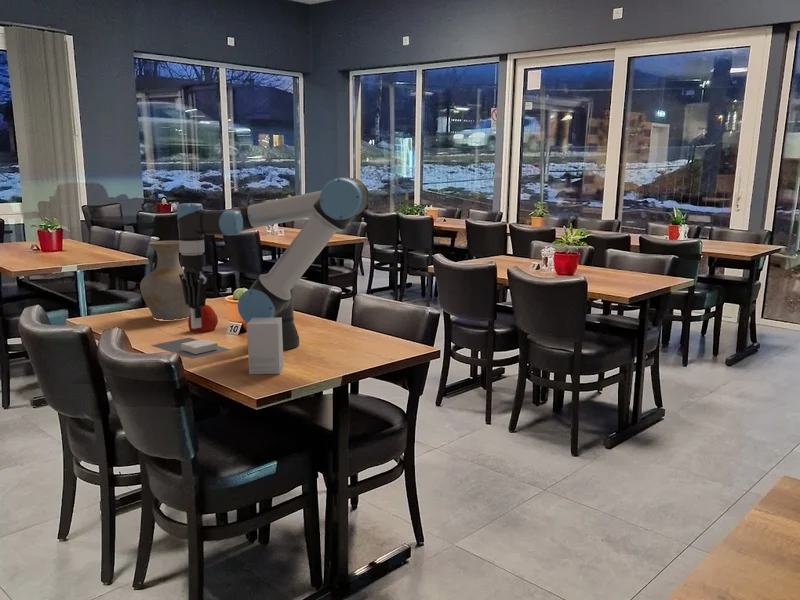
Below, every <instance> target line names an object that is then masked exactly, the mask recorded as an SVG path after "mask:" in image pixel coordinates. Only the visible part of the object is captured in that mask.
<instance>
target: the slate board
mask: <svg viewBox="0 0 800 600" xmlns="http://www.w3.org/2000/svg"><path fill="white" fill-rule="evenodd" d="M196 340H197V339H196V338H192V337H185V338H181V339H175V340H171V341H170V340H169V341H166V342H161V343H156V344H151V346H152V347H155V348H157V349H158V348H159V349H161V350H164V351H167V352H169V353H173V352H176V353H178V354H177V355H179V356H182V357H185V358H189V359H191V360H193V359H199V358H203V357H207V356H209V355H210V356H211V355H215V354H219V353H224V352H227V351H231V350H232V349H230V348H227V347H224V346H219V345H218V349H216V350H212V351H207V352H203V353H199V354H193V353H190V352H187V351H184V350H181V344H182V343H186V342H191V341H196ZM176 353H175V354H176Z"/></svg>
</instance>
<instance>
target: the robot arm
mask: <svg viewBox="0 0 800 600" xmlns="http://www.w3.org/2000/svg"><path fill="white" fill-rule="evenodd" d="M368 189H369V188H367V186H366V185H365V183H363V181H361V180H359V179H357V178H355V177H344V176H343V177H336V178H333V179H331V180H330V181H328V182H327V183H326V184H325V185H324V187H322V190H318V191H313V192H308V193H304V194H298V195H294V196H288V197H283V198H278V199H274V200H270V201H265V202H264V201H263V202H259V203H255V204H250V205H245V206H240V207H236V208H234V207H233V208H230V209H229V208H228V209H218V210H217V209H216V210H215V209H213V210H207V209H204V206H203V204H202V203H193V202H191V203H188V202H187V203H180V204H178V206H177V218H176V219H177V228H178V241H179V253H180V255H179V263H180V266H181V268H183V269H184V273H183V274H180V275H179V277H180V280H181V283H182V288H183V293H184V299H185V304H186V305H187V304H188V305H189V307H190V313H191V314H190V315H191V328H193V329H195V328H201V327H202V326H201V307H203V306H205V305H206V300H207V290H208V289H207V288H208V283H209V280H210V279H209V277H208V276H207V277H206V276H205V275H204V269H203V267H204V266H206V254H204V253H205V249H206V248H205V235H207V236H209V235H210V236H214V235H215V236H228V237H229V236H238V235H240V234H241V232H244V231H248V230H254V229H258V228H262V227H268V226H272V225H278V224H283V223H288V222H293V221H297V220H303V219H308V218H309V219H308V220H307V222H306V223H305V224H304V225H303V227H302V228H301V229H300V231H299V232H298V233H297V235H296V236H295V237H294V238H293V240H292V241H291V243H289V245H288V246H287V248H286V249H285V250H284V252H283V253H282V254H281V256H280V257H279V258H278V259H277V261H276V262H275V264H273V266H272V267H271V269H270V270H269V271H268V273H263V274H260V275H259V276H258V277H257V278H256V280H255V281H254V282H253V284H252V285H251V286H250V287H249V289H247V290H244V292H242V294H241V295H240V296H239V298H238V302H237V310H238V314H239V316H240V318H241V319H242V320H243V321H244V322H245V323H246V324H247V323H248V322H249V321H250V320H251V319H252V318H280V317H281V318H282V340H283V351H287V350H291V349H295V348H297V347H299V346H300V336H299V334H298V330H297V328H296V325H295V322H294V319H295V318H294V317H295V316H294V286H295V285H296V284H297V283H298V281H299V280H300V279H301V278H302V277H303V275H304V274H305V273H306V271H307V270H308V269H309V267H310V266H311V265H312V264H313V263H314V261H315V259H316V258H317V257H318V256H319V255H320V253H321V252H322V250H323V249H324V248H325V247H326V246H327V244H328V243H329V242H330V240H332V238H333V237H334V235H335V234H336V233H337V232H341V231H342V232H343V231H345V230H346V229H347V227H348V226H349V224H350V223H351V222H352V221H353V219H354V218H355V217H356V216H357V215H359V214H361V213H362V212H364V211H365V209H366V208H367V207H368V204H369V201H370V193H369V190H368Z"/></svg>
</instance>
